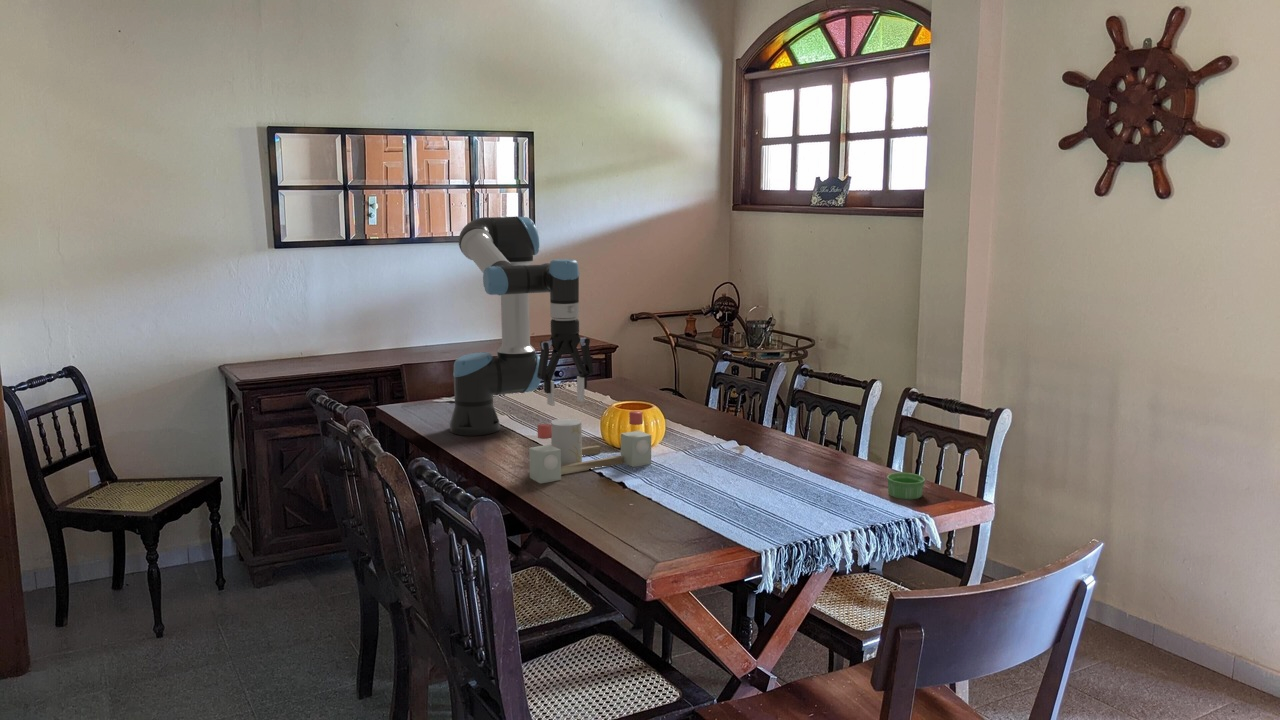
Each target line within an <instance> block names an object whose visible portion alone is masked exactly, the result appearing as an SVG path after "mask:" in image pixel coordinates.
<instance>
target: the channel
mask: <svg viewBox="0 0 1280 720" xmlns="http://www.w3.org/2000/svg"><path fill="white" fill-rule="evenodd" d="M597 453H598V454H601V446H600V445H591V446H583V447H582V455H583V456H582V457H585V456H584V455H587V456H592V455H591V454H593V455H598V454H597ZM618 464H620V465H624V463H623V457H622V456H621V455H615V456H610V457H605V458H604V457H603V458H598V459H597V458H596V459H592V460H587V461H582V462H579V463H573V464H567V465H561V476H562V475H568V474H573V473H578V472H583V471H584V472H585V471H590V470H589V469H591V468H595V467H602V466H608V467H611V466H610V465H614V466H619V465H618ZM591 470H592V469H591Z"/></svg>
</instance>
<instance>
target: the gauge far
mask: <svg viewBox="0 0 1280 720" xmlns="http://www.w3.org/2000/svg"><path fill="white" fill-rule="evenodd" d="M628 412H629V413H628V415H629V416H628V417H629V419H628V420H629V424H630V425H633V426H638V425H642V424H643V419H644V416H643V413H644V412H643V411H640V410H632V411H628Z"/></svg>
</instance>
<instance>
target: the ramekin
mask: <svg viewBox="0 0 1280 720" xmlns="http://www.w3.org/2000/svg"><path fill="white" fill-rule="evenodd" d="M886 479H887V489H888V490H887V491H888V495H889V496H891V497H893V498H896V499H900V500H918V499H920V498H922V496H923V494H924V493H923V491H924V486H925V485H924V484H925V482H926V479H925V477H924V476H922V475H921V474H918V473H917V474H916V473H912V472H893V473H889V474H888V475H887V476H886Z"/></svg>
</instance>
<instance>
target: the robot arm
mask: <svg viewBox="0 0 1280 720" xmlns="http://www.w3.org/2000/svg"><path fill="white" fill-rule="evenodd" d="M539 237H540V236H539V233H538V229H537V227H536V224H535V223H534V221H533V220H532V219H531V218H530V217H527V216H516V215H515V216H497V217H495V216H493V217H487V216H485V217H479V218H475V219H473V220H471V221H469V222H468V223H467V224H466V225H465V226H464V227H463V228H462V229H461V231H460V233H459V236H458V246H459V249H460V251H461V253H462V255H464V256H465V257H466V258H467V259H468V260H470V261H473V263H475V265H476V266H477V267H478V269H479V270H480V271H481V273H483V274H482V282H483V284H482V285H483V288H484V291H485V292H486V294H487V295H490V296H494V295H496V296H500V314H501V320H500V322H501V346H499V348H498V349H497V356H493V354H492V353H490V352H473V353H468V354H465V355H462V356H459V357H458V358H456V359H455V361H454V363H453V374H452V375H453V376H452V377H453V389H454V391H453V392H454V407H453V412H452V414H451V419H450V420H449V421H450V422H449V432H451V434H454V435H458V436H467V437H468V436H470V437H471V436H473V437H474V436H484V435H489V434H493V433H496V432H498V431H500V429H501V427H500V420H499V417H498V413H497V412H496V408H495V406H494V396H498V395H499V396H500V395H509V394H510V395H511V394H524V393H528V392H533V391H536V390H537V389H538V387H539V385H540V384H541V380H543V389H544V393H546V396H547V397H546V399H547V400H546V401H547V402H546V403H547V405H549V406H552V407H553V406H555V381H554V380H552V379H553V376H554V374H555V371H556V369H557V366H558V364H559V362H560V359H561V358H562V356H563V355H567V354H569V355H570V356H571V358H572V361H573V363H574V366H575V367H576V369H577V372H578V373H579V376H576V392H577V393H576V401H578V402H581V403H582V402H584V403H585V389H587V388H588V378H589V377H590V375H593V374H594V367H593V360H592V356H591V351H590V341H591V340H590V338H588V337H584V336H583V337H580V334H579V333H580V320H579V319H578V318H579V317H580V304H579V303H580V288H579V287H580V283H579V282H580V281H579V280H580V279H579V277H580V271H579V262H578V261H577V260H576V259H570V258H557V259H551V260H550V263H546V262H545V263H542V264H532V263H533V262H534V256H537V254H539V252H540V238H539ZM540 293H541V294H543V293H544V294H545V293H549V299H550V300H549V301H550V304H549V305H550V310H549V312H550V318H551V320H550V334H551V335H550V336H551V337H550V339H549V340H547V341H544V340H543V341H542V340H541V341H540V342H539V345H540V355H539V354H538V353H536V349H535V348H534V347H533V346H532V345H531V332H530V331H531V330H530V329H531V327H530V326H531V325H530V324H531V323H530V294H540ZM579 344H580V350H581V351H580V352H581V355H582V358H581V356H580V352H579V349H578V346H579ZM551 346H552V351H551V356H550V359H549V355H550V349H551ZM582 360H583V361H582Z"/></svg>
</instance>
